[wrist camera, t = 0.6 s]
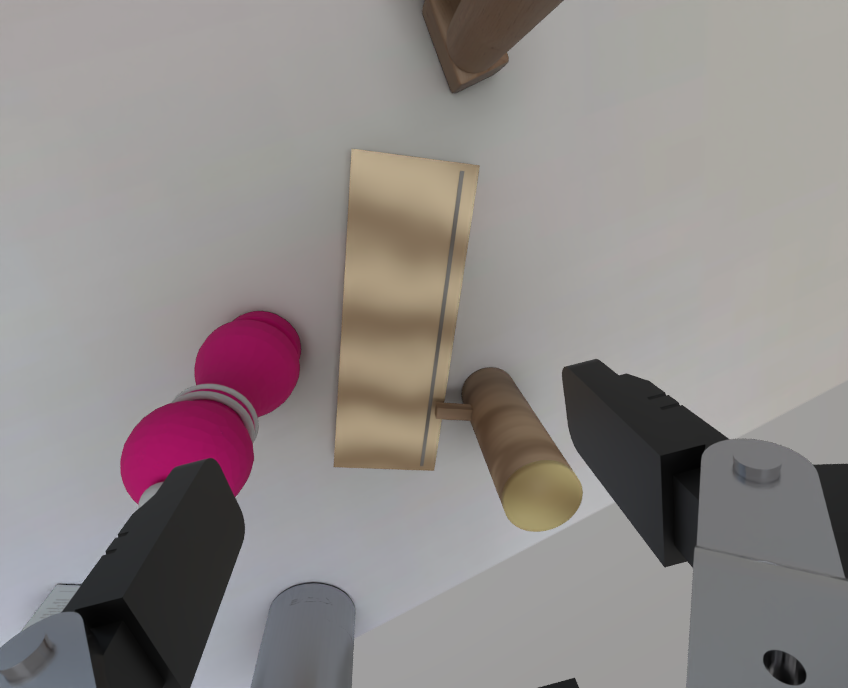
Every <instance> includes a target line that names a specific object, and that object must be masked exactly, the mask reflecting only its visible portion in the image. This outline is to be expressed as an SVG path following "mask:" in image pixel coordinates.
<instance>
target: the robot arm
mask: <svg viewBox="0 0 848 688" xmlns="http://www.w3.org/2000/svg"><path fill="white" fill-rule="evenodd" d="M562 380H563V388H564V396H565V404H566V412H567V420H568V427H569V432H570V435H571V439H572V441H573V444H574V446H575V448H576V450H577V452H578V453H579V454H580V456H581V457H582V458H583V460H584V461H585V462H586V464H587V465H588V466H589V468H590V469H591V470H592V472H593V473H594V474H595V476H596V477H597V478H598V480H599V481H600V482H601V484H602V485H603V486H604V488H605V489H606V490H607V492H608V493H609V494H610V496H611V497H612V498H613V500H614V501H615V502H616V503H617V505H618V506H619V507H620V509H621V510H622V511H623V513H624V514H625V515H626V517H627V518H628V519H629V521H630V522H631V523H632V525H633V526H634V527H635V529H636V530H637V531H638V533H639V534H640V535H641V537H642V538H643V539H644V541H645V542H646V543H647V545H648V546H649V547H650V549H651V550H652V551H653V553H654V554H655V555H656V557H657V558H658V559H659V561H660V562H661V563H662V564H663V566H664V567H668V566H671V565H675V564H679V563H683V562H687V561H688V563H689V564H690V565H691V566H692V567H693V580H692V597H691V614H690V615H691V616H690V631H689V632H690V633H689V649H688V666H687V683H686V688H848V464H823V465H813V464H812V463H811V462H810V461H809V460H807V459H806V458H805V457H803V456H802V455H800V454H799V453H797V452H795V451H793V450H792V449H789V448H787V447H784V446H782V445H778V444H776V443H772V442H768V441H762V440H756V439H728V438H727V437H726V436H724V435H723V434H721V433H720V432H719V431H717V430H716V429H715V428H713V427H712V426H710V425H709V424H708V423H706V422H705V421H703V420H702V419H701V418H699V417H698V416H697V415H695V414H694V413H692V412H691V411H690V410H688V409H687V408H686V407H684V406H683V405H681V406H680V405H679V402H677V401H676V400H675V399H673V398H672V397H670V396H669V395H667V396H666V394H665V392H663V391H662V390H661V389H659V388H658V387H657V386H655V385H654V384H652V383H651V382H650V381H647V380H644V379H641V378H638V377H635V376H632V375H629V374H623V375H618V374H616V373H615V372H614V371H613V370H611V369H610V368H609V367H607V366H606V365H605V364H604V363H602V362H601V361H600V360H598V359H594V360H590V361H586V362H582V363H578V364H574V365H570V366H566V367H564V368H563V371H562ZM244 534H245V524H244V518H243V514H242V511H241V509H240V507H239V505H238V503H237V500H236V498H235V496H234V494H233V492H232V490H231V488H230V486H229V484H228V481H227V479H226V477H225V475H224V473H223V471H222V469H221V467H220V465H219V463H218V462H217V461H216V460H215V459H213V458H207V459H203V460H200V461H196V462H192V463H188V464H184V465H180V466H176V467H175V468H173V470H172V471H171V472H170V474H169V475H168V476H167V478H166V479H165V481H164V482H163V484H162V485H161V486H160V488H159V489H158V491H157V492H156V494H155V495H154V496H152V497H151V498H150V499H149V500H148V501H147V502H146V503H145V504H143V505H142V506H141V507H140V508H139V509H138V510H137V511H136V512H134V513H133V514H132V516H131V517H130V518H129V520H128V521H127V522H126V524H125V525H124V527H123V528H122V529H121V531H120V532H119V533H118V538H115V539H114V540H113V542H112V543H111V545H110V546H109V547H108V549H107V550H106V555H104V556H102V557H101V558H100V560H99V561H98V562H97V564H96V565H95V567H94V568H93V569H92V571H91V572H90V574H89V575H88V576H87V578H86V579H85V580H84V582H83V583H82V585H81V586H80V587H79V589H78V590H77V592H76V593H75V594H74V596H73V597H72V598H71V600H70V601H69V603H68V604H67V605H66V607H65V608H64V609H63V611H62V612H61V613H58V614H55V615H52V616H49V617H47V618H44V619H42V620H40V621H38V622H36V623H35V624H33V625H31V626H29V627H28V628H26V629H24V630H23V631H22V632H20V633H19V634H17V635H16V636H14V637H13V638H12V639H10V640H9V641H8V642H6V643H5V644H4V645H3V646H2V647H1V648H0V688H190V687H191V684H192V681H193V679H194V676H195V673H196V670H197V667H198V665H199V662H200V659H201V656H202V654H203V651H204V648H205V645H206V643H207V640H208V637H209V634H210V632H211V629H212V626H213V623H214V620H215V618H216V615H217V612H218V609H219V607H220V604H221V601H222V598H223V596H224V593H225V590H226V587H227V585H228V582H229V579H230V576H231V574H232V571H233V568H234V565H235V562H236V560H237V557H238V554H239V551H240V549H241V546H242V543H243V540H244ZM354 626H355V608H354V605H353V603H352V601H351V599H350V598H349V597H348V596H347V595H346V594H345V593H344V592H342V591H341V590H339V589H337V588H335V587H332V586H329V585H325V584H316V583H312V584H303V585H298V586H295V587H292V588H290V589H288V590H286V591H284V592H283V593H281V594H280V595H279V596H278V597H277V598H276V599H275V600H274V601H273V603H272V605H271V607H270V610H269V614H268V618H267V622H266V626H265V630H264V634H263V639H262V643H261V646H260V650H259V654H258V658H257V663H256V667H255V671H254V675H253V679H252V683H251V687H250V688H352V666H353V649H354ZM539 688H579V687H578V684H577V682H576V679H575V678H572V679H569V680H565V681H561V682H558V683H554V684H550V685H547V686H543V687H539Z"/></svg>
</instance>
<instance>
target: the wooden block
mask: <svg viewBox="0 0 848 688" xmlns="http://www.w3.org/2000/svg"><path fill="white" fill-rule="evenodd" d="M562 1H563V0H425V1H424V5H423V10H422V12H423V17H424V19H425V22H426V25H427V27H428V30H429V33H430V36H431V38H432V41H433V44H434V46H435V49H436V52H437V55H438V57H439V60H440V63H441V66H442V68H443V71H444V74H445V76H446V79H447V82H448V85H449V87H450V90H451V91H452V93H457V92H459V91H461V90H463V89H465V88H467V87H469V86H471V85H473V84H476V83H478V82H480V81H482V80H484V79H486V78H488V77H490V76H492V75H494V74H495V73H497V72H498V71H499V70H500V69H501V68H503V67H504V66H505V65H506V64H507V63H508V60H509V57H508V54H507V52H508V51H509V50H510V49H511V48H512V47H513V46H514V45H515V44H516V43H518V42H519V41H520V40H521V39H522V38H523V37H524V36H525V35H526V34H527V33H528V32H530V31H531V30H532V29H533V28H534V27H535V26H536V25H537V24H538V23H539V22H540V21H542V20H543V19H544V18H545V17H546V16H547V15H548V14H549V13H550V12H551V11H553V10H554V9H555V8H556V7H557V6H558V5H559V4H560V3H561V2H562Z"/></svg>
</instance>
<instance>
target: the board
mask: <svg viewBox="0 0 848 688" xmlns="http://www.w3.org/2000/svg"><path fill="white" fill-rule="evenodd" d="M479 166H480V165H472V164H464V163H457V162H449V161H442V160H434V159H426V158H419V157H411V156H404V155H396V154H388V153H381V152H373V151H366V150H358V149H352V152H351V169H350V187H349V205H348V223H347V240H346V258H345V276H344V294H343V311H342V329H341V347H340V365H339V382H338V400H337V418H336V436H335V453H334V467H346V468H374V469H402V470H431V471H434V467H435V461H436V454H437V447H438V441H439V434H440V427H441V421H442V419H436V417H435V406H436V402H442V403H444V401H445V394H446V387H447V381H448V374H449V367H450V360H451V354H452V347H453V340H454V334H455V327H456V320H457V314H458V307H459V300H460V294H461V287H462V280H463V274H464V267H465V260H466V253H467V247H468V240H469V233H470V227H471V220H472V213H473V207H474V200H475V193H476V187H477V180H478V173H479Z"/></svg>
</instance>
